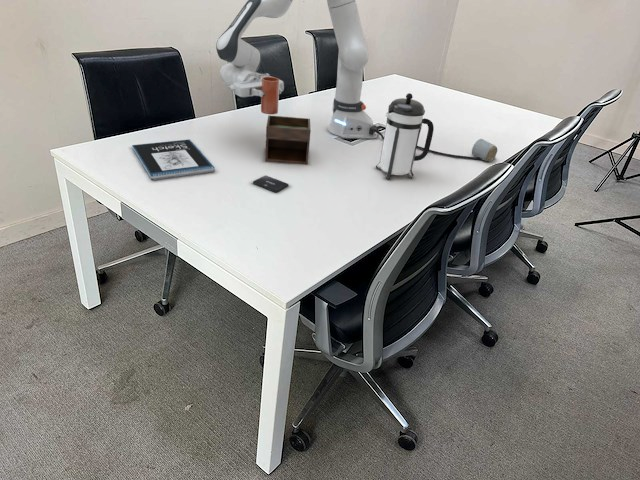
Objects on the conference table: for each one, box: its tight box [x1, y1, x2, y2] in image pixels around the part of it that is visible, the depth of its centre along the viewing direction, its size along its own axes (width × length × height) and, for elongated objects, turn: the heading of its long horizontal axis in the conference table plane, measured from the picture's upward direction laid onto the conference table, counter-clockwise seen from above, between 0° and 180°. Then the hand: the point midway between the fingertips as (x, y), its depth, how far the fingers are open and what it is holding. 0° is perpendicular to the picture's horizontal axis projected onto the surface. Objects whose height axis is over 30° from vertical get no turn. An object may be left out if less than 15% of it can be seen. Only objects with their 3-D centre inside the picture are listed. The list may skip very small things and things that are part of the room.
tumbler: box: [260, 76, 280, 115], centre depth 170 cm, size 6×6×12 cm
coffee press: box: [375, 92, 435, 181], centre depth 168 cm, size 17×16×30 cm
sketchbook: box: [131, 139, 216, 181], centre depth 166 cm, size 22×30×2 cm
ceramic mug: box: [471, 138, 498, 162], centre depth 196 cm, size 11×8×8 cm
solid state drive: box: [252, 174, 289, 193], centre depth 157 cm, size 7×10×1 cm
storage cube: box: [264, 114, 312, 165], centre depth 176 cm, size 16×13×14 cm
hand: (271, 93), depth 169 cm, fingers closed on tumbler, 6 cm apart
